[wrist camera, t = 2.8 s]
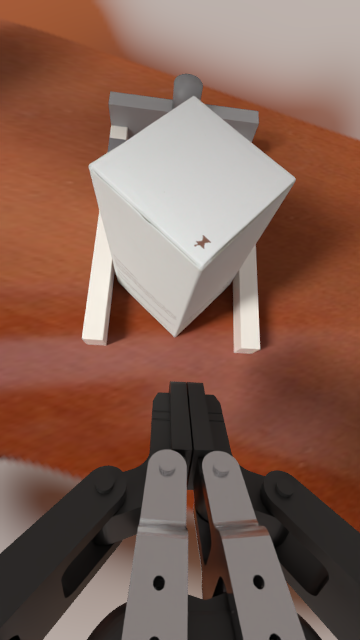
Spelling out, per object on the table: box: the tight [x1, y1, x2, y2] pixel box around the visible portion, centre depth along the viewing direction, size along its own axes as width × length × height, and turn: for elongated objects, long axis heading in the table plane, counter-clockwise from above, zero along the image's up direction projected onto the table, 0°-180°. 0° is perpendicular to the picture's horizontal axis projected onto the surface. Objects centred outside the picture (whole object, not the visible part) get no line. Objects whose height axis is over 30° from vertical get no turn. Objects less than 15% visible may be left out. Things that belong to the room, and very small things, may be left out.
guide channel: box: [82, 74, 260, 354], centre depth 24 cm, size 14×22×6 cm, turn 178°
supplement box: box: [89, 96, 296, 337], centre depth 20 cm, size 7×7×13 cm
